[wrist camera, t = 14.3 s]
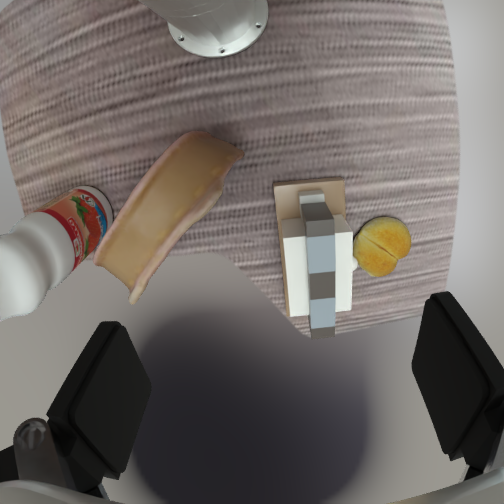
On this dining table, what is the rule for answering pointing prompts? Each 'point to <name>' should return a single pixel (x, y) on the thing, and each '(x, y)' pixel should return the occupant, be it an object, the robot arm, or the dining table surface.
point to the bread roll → (381, 245)
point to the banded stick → (320, 268)
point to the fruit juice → (49, 247)
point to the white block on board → (294, 240)
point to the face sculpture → (165, 207)
